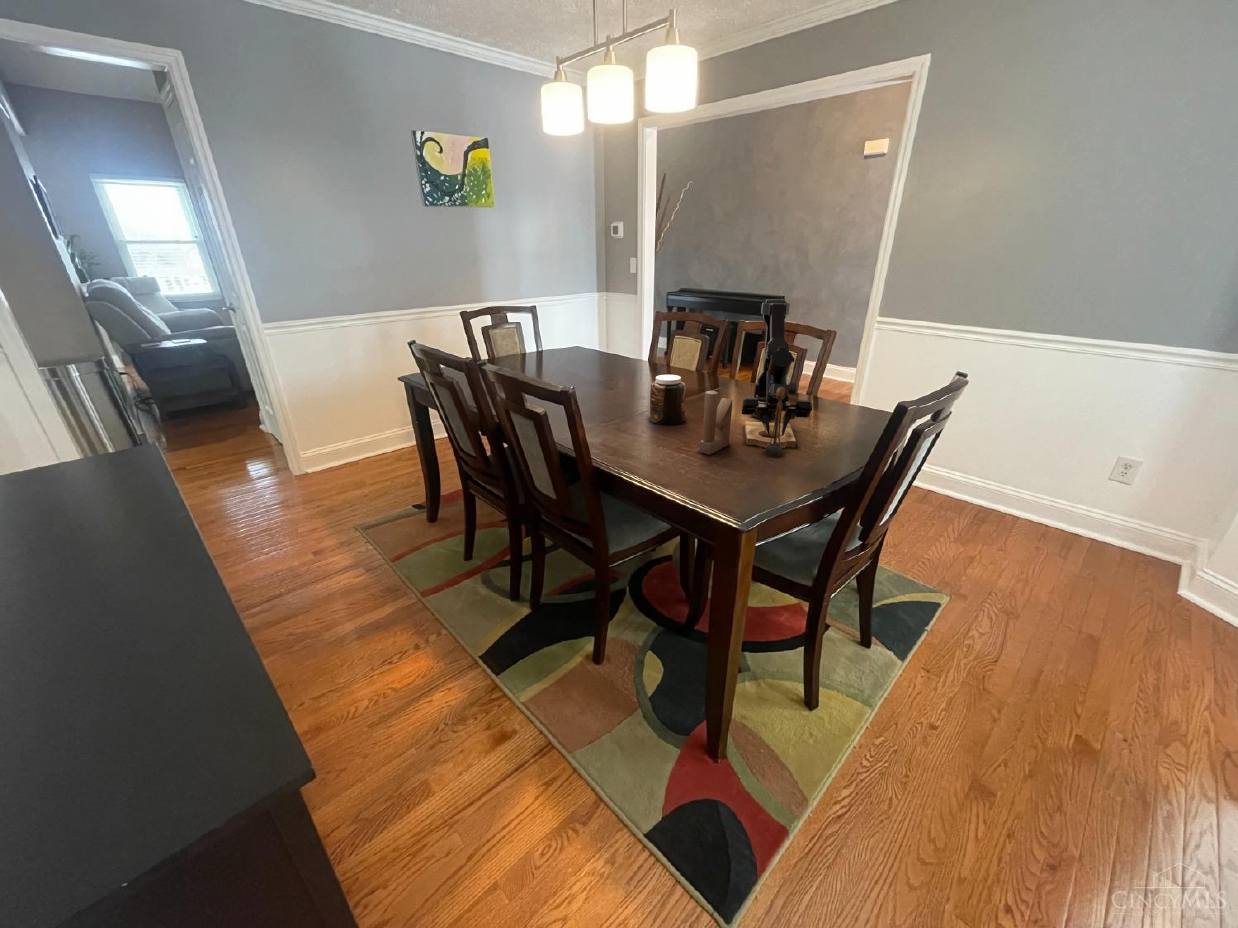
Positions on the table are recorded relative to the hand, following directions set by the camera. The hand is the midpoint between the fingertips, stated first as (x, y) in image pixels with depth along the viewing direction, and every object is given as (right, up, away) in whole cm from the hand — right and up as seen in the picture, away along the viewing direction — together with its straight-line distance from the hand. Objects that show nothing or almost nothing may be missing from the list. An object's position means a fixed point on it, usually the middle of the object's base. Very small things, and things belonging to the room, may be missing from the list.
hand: (775, 434), depth 137 cm
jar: (-27, +7, +33) cm, 43 cm away
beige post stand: (-16, -4, +8) cm, 18 cm away
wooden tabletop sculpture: (0, -6, +4) cm, 7 cm away
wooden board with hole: (+3, 0, +17) cm, 17 cm away
